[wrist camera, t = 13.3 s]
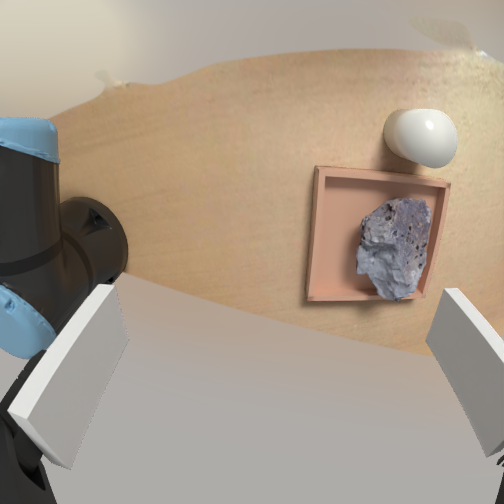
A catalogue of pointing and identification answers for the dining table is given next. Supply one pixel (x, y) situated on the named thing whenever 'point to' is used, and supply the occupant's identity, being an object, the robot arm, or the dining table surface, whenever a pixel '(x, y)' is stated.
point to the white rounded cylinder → (421, 136)
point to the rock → (394, 246)
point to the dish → (348, 226)
